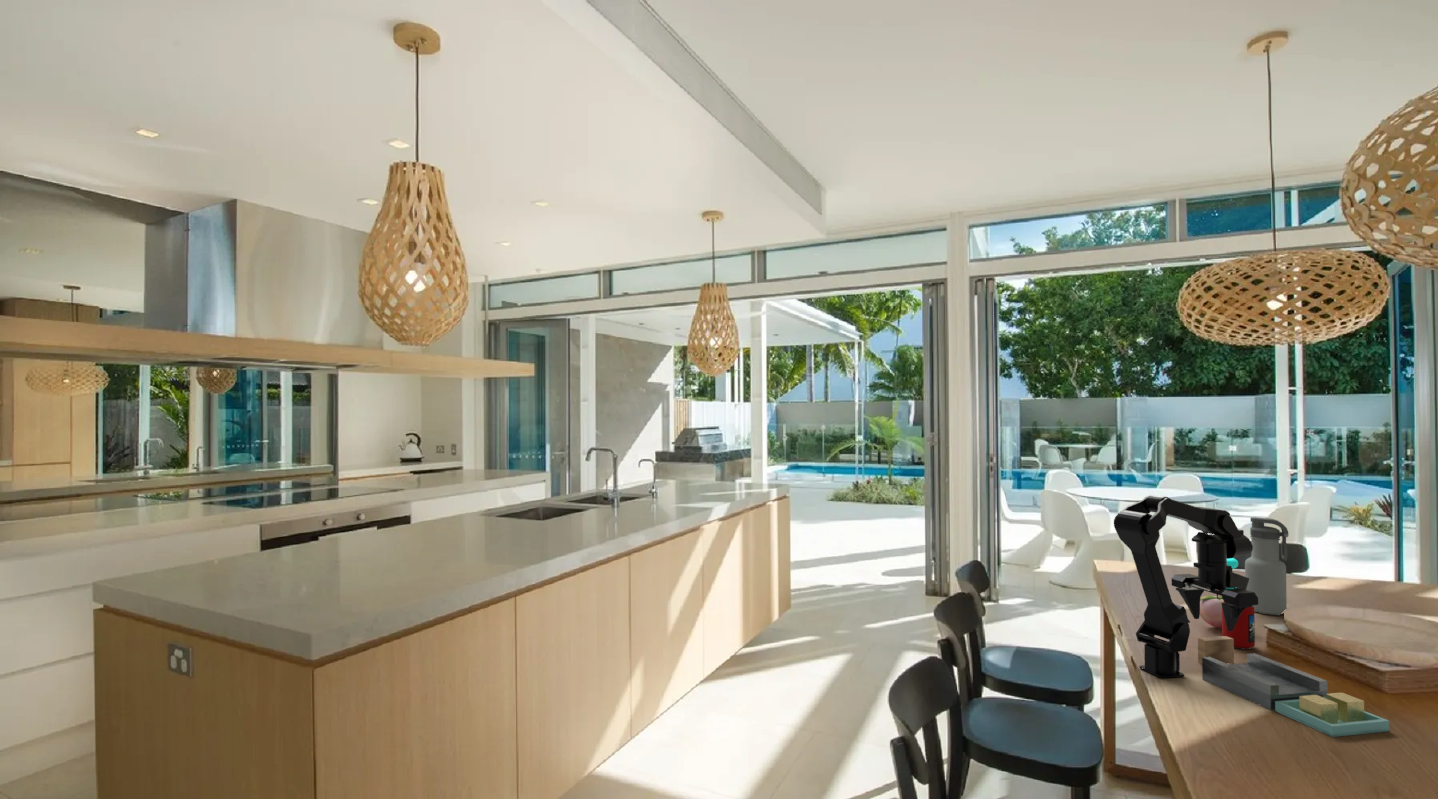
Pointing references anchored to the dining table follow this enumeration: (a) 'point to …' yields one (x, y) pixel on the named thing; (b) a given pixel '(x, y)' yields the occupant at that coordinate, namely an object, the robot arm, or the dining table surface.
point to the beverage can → (1242, 629)
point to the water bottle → (1267, 566)
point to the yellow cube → (1348, 707)
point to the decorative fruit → (1212, 610)
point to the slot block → (1262, 680)
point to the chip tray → (1339, 729)
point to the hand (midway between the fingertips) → (1213, 624)
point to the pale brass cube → (1319, 708)
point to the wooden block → (1216, 648)
